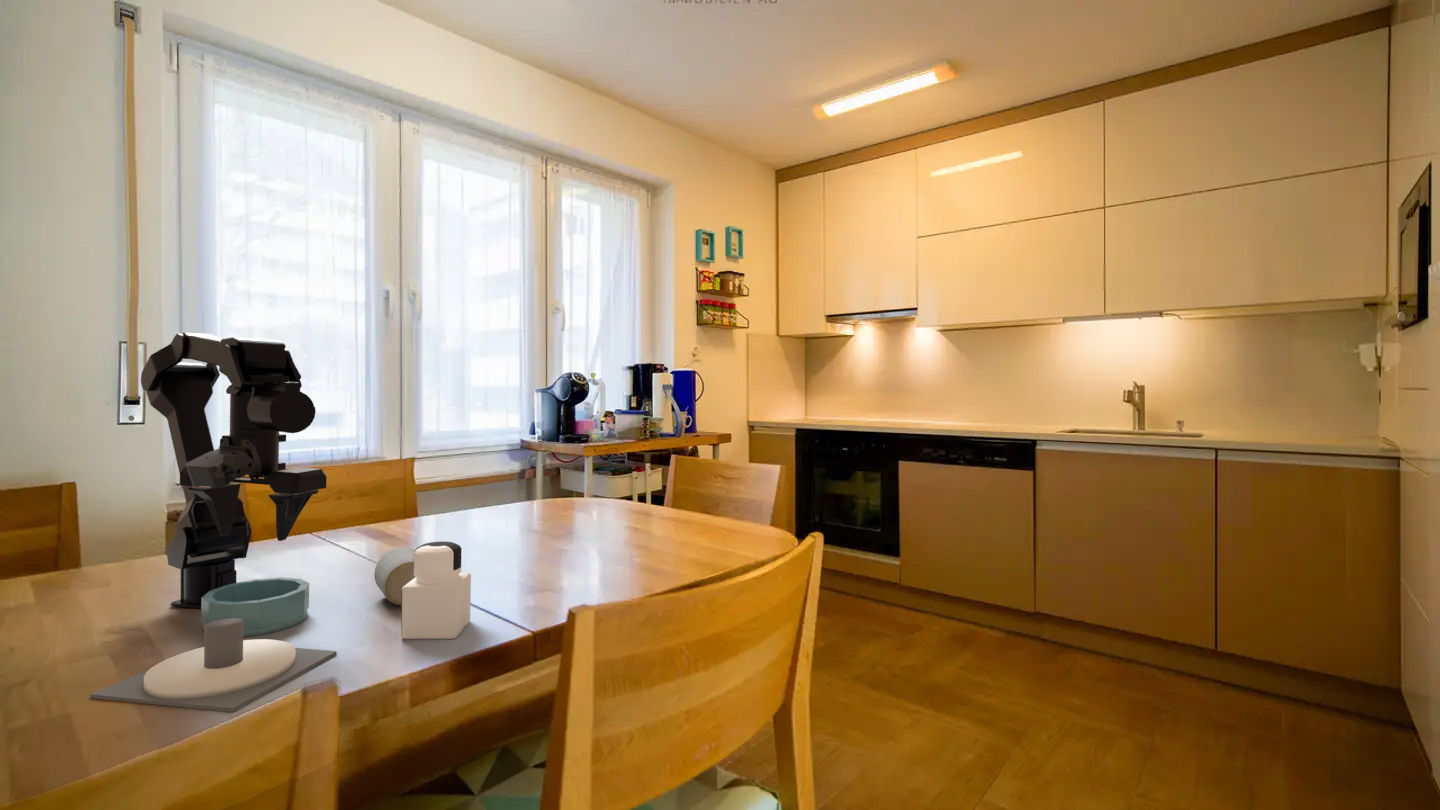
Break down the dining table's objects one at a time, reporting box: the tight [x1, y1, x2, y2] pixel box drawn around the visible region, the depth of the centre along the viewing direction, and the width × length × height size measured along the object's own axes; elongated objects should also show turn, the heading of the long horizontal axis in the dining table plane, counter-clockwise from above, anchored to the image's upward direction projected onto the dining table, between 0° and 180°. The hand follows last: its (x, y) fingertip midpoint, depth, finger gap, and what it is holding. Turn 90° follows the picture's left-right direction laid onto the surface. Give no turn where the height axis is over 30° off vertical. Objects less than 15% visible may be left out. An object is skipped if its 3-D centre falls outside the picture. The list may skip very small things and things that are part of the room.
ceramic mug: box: [373, 546, 415, 607], centre depth 104 cm, size 11×8×8 cm
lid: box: [144, 618, 296, 699], centre depth 76 cm, size 14×14×6 cm
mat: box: [89, 645, 337, 713], centre depth 76 cm, size 17×15×1 cm
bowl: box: [200, 577, 310, 638], centre depth 93 cm, size 12×12×4 cm
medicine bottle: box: [400, 541, 472, 640], centre depth 91 cm, size 7×7×12 cm
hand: (253, 537), depth 94 cm, fingers open, 9 cm apart
